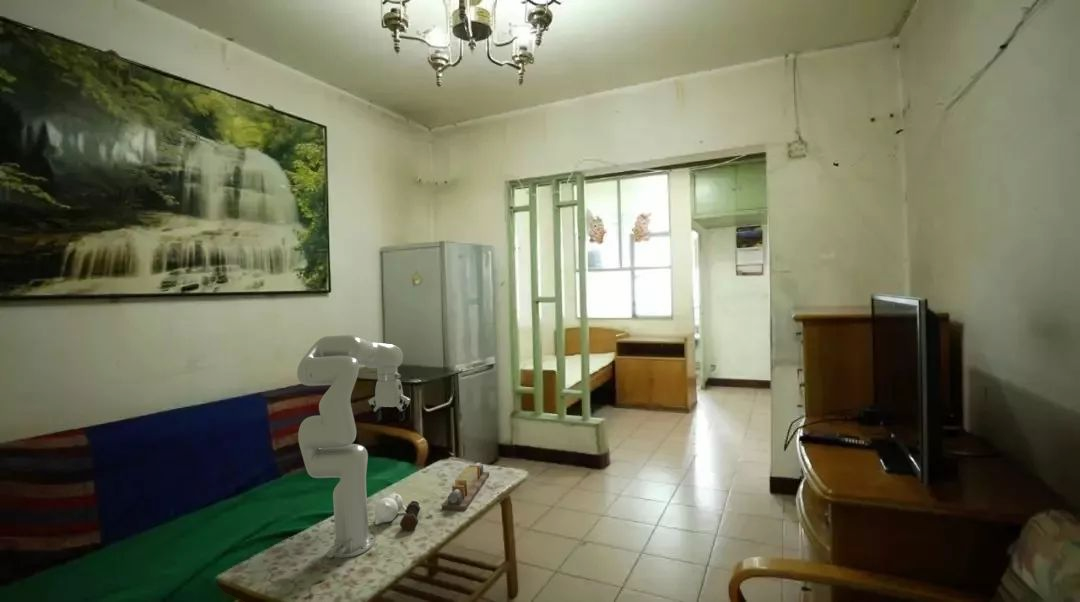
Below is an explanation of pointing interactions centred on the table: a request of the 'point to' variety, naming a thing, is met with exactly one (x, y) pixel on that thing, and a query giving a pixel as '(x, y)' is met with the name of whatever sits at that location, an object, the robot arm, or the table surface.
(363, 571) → the table surface
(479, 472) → the shaft base
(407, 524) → the bolt
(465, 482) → the tan rectangular block
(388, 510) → the cat figurine
